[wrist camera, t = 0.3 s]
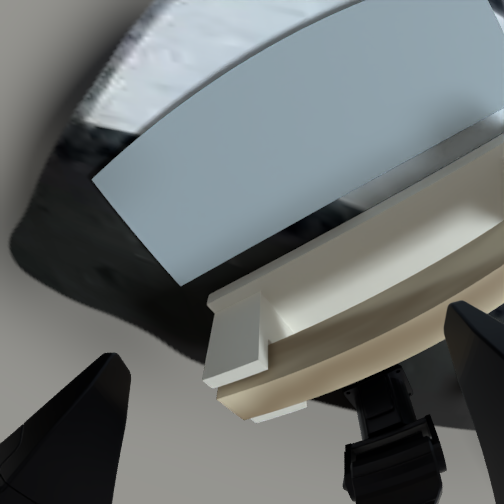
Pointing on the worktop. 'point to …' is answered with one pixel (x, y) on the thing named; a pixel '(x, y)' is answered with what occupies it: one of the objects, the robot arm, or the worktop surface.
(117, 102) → the worktop surface
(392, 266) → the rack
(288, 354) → the rail
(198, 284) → the worktop surface
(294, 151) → the mat
